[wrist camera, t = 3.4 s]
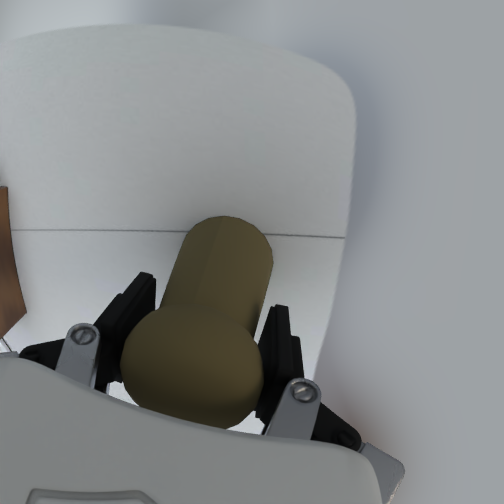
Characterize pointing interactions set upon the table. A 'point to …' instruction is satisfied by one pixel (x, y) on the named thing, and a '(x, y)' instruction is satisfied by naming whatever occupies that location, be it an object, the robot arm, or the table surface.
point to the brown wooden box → (8, 273)
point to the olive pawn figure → (204, 329)
